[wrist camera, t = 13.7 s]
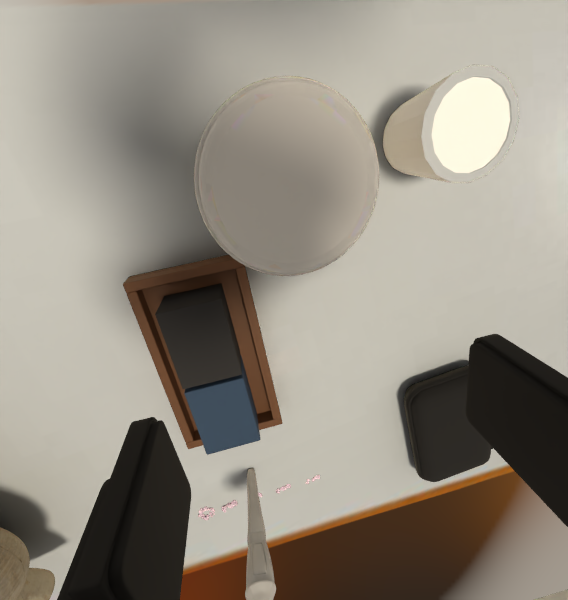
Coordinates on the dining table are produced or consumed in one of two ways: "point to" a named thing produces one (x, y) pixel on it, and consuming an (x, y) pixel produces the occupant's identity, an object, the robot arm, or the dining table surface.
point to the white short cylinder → (454, 127)
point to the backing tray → (232, 274)
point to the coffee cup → (286, 175)
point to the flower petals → (236, 501)
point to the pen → (257, 548)
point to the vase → (21, 572)
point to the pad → (200, 335)
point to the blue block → (224, 412)
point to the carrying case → (443, 427)
